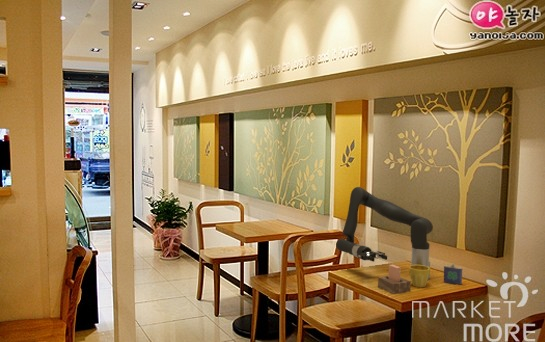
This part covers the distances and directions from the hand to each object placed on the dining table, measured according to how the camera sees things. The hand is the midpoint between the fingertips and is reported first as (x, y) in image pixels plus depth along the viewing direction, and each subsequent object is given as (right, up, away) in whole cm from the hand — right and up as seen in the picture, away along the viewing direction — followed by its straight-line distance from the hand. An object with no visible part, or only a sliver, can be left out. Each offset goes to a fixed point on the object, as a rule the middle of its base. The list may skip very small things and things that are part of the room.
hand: (380, 258), depth 253 cm
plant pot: (+20, -14, -3) cm, 24 cm away
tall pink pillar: (+5, -14, -9) cm, 17 cm away
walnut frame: (+5, -14, -9) cm, 17 cm away
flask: (+39, -14, +1) cm, 41 cm away
